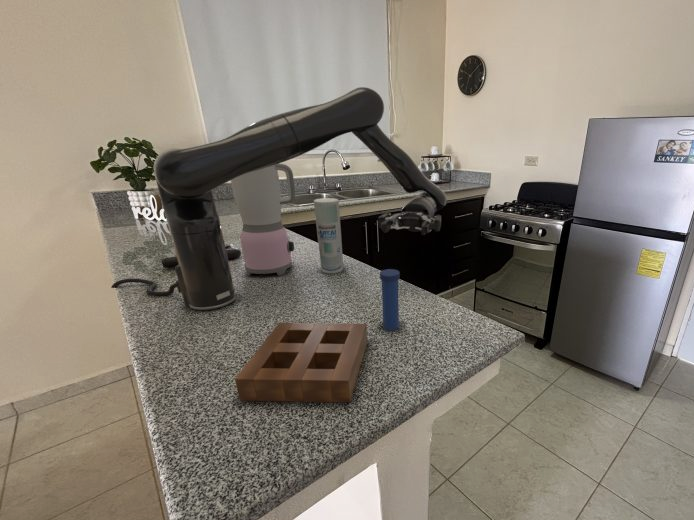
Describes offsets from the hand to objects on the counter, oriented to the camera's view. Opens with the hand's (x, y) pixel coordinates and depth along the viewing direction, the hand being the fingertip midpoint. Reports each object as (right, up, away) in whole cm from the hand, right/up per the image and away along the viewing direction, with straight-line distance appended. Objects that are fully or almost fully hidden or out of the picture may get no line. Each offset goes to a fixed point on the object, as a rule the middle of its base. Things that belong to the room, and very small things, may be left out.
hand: (403, 229), depth 75 cm
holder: (-14, -26, -17) cm, 34 cm away
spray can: (-22, -8, +26) cm, 35 cm away
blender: (-38, -8, +25) cm, 47 cm away
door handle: (-64, -5, +33) cm, 73 cm away
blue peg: (-2, -21, -3) cm, 21 cm away
